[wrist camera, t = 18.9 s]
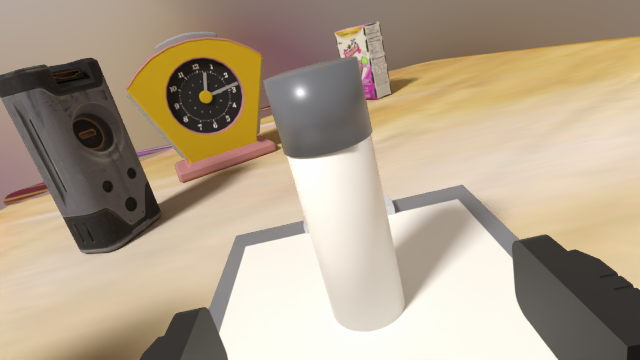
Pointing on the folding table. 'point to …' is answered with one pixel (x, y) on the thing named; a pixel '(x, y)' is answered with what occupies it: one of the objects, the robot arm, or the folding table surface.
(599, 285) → the robot arm
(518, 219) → the folding table surface
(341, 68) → the marker
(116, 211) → the electronic device
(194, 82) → the yellow desk clock
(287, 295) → the clipboard
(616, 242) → the folding table surface
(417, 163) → the folding table surface
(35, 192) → the folding table surface
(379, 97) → the candy bar box
